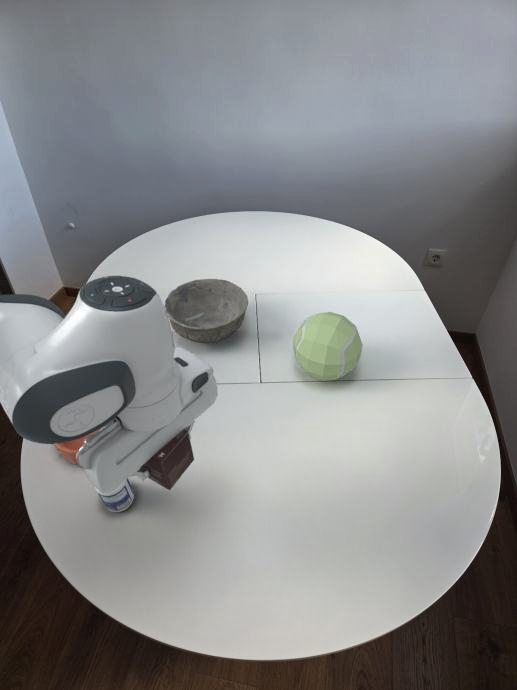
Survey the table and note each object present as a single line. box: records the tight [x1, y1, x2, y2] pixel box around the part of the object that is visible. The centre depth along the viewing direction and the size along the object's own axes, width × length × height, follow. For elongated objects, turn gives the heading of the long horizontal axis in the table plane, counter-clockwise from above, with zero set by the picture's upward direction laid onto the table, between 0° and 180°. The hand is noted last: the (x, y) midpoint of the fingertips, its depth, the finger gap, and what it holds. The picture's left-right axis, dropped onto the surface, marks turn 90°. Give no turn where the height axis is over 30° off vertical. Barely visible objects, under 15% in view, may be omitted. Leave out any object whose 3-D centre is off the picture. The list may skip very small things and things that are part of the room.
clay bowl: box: [53, 429, 99, 466], centre depth 88 cm, size 14×14×5 cm
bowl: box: [164, 278, 249, 344], centre depth 110 cm, size 21×21×10 cm
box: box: [144, 429, 195, 491], centre depth 61 cm, size 6×6×7 cm
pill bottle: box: [95, 478, 135, 513], centre depth 76 cm, size 5×5×10 cm
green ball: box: [292, 311, 364, 382], centre depth 98 cm, size 15×15×15 cm
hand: (164, 456), depth 62 cm, fingers closed on box, 6 cm apart
